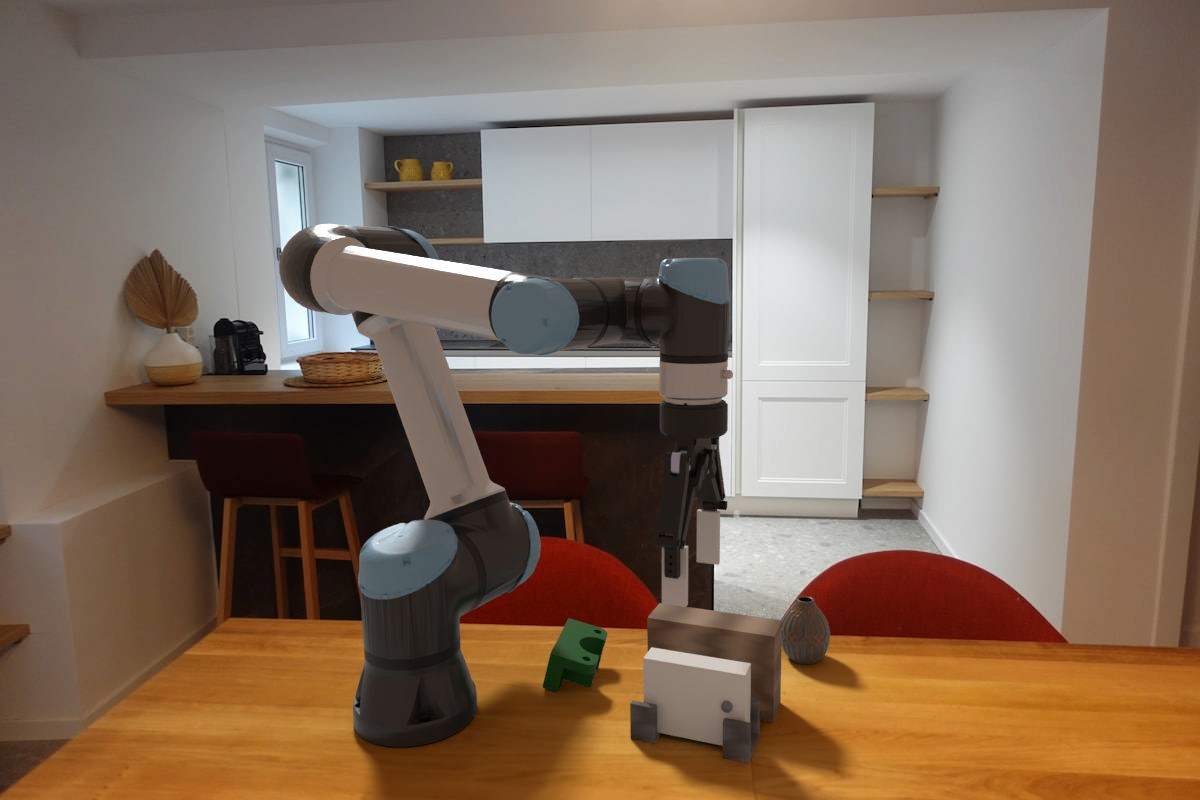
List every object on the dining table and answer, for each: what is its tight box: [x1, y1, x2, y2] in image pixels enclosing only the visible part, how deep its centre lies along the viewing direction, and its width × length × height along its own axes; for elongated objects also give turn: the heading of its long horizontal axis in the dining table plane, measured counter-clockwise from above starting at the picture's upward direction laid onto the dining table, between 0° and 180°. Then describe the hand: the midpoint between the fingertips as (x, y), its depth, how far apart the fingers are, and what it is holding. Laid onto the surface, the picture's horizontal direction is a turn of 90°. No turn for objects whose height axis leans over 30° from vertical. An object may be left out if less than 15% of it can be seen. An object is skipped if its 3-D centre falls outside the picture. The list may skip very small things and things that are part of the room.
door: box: [642, 647, 751, 747], centre depth 94 cm, size 12×4×9 cm, turn 68°
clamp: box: [542, 617, 608, 694], centre depth 110 cm, size 12×6×9 cm, turn 164°
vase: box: [781, 595, 831, 665], centre depth 114 cm, size 7×7×9 cm
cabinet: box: [629, 602, 782, 764], centre depth 98 cm, size 16×14×11 cm
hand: (692, 582), depth 93 cm, fingers open, 13 cm apart
